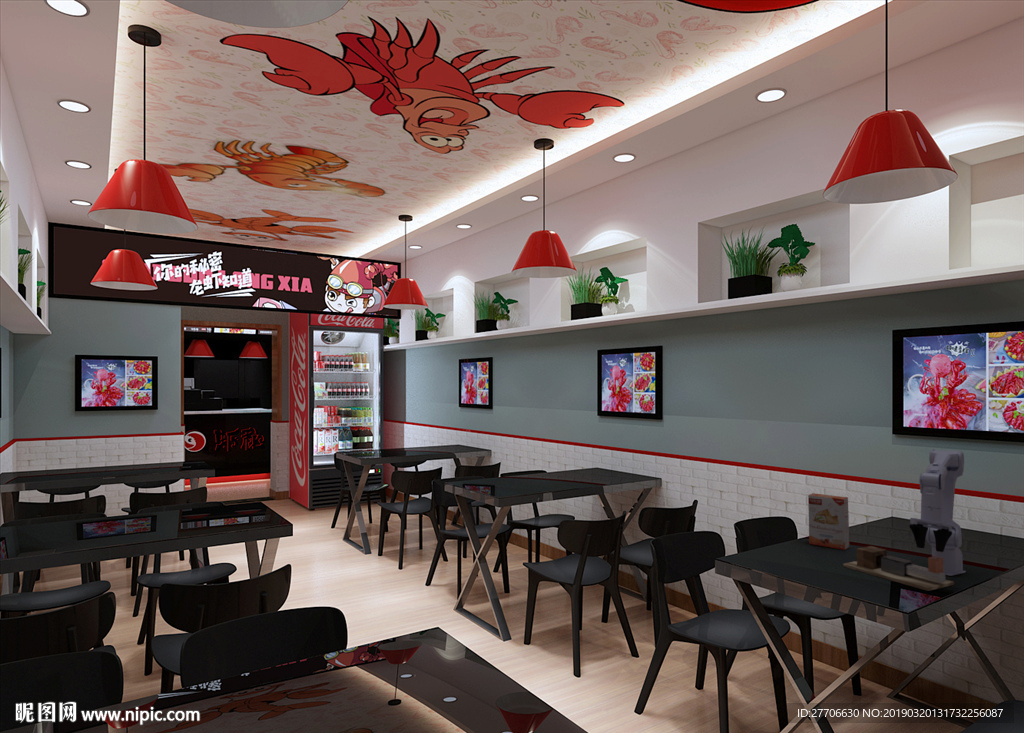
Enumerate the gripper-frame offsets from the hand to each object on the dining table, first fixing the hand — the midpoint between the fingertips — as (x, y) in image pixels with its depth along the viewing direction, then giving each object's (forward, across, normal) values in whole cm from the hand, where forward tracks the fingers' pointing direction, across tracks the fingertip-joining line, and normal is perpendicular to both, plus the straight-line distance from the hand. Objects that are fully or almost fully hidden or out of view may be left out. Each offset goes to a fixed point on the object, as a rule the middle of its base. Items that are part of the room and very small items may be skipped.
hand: (930, 549), depth 200 cm
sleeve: (+10, 0, +13) cm, 17 cm away
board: (+10, 0, +13) cm, 17 cm away
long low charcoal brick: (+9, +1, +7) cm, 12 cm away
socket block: (+9, -2, +22) cm, 24 cm away
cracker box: (+4, +4, +52) cm, 53 cm away
